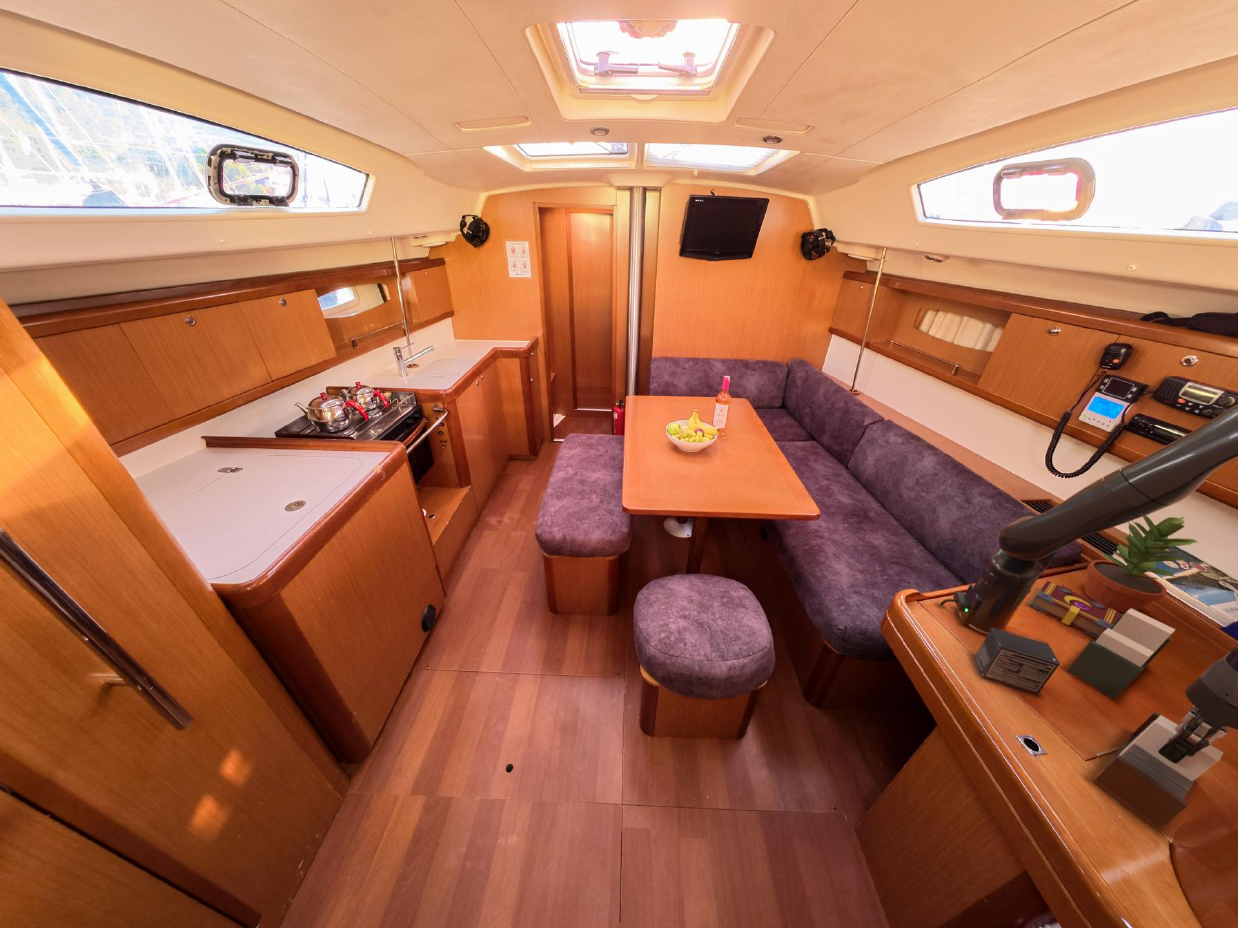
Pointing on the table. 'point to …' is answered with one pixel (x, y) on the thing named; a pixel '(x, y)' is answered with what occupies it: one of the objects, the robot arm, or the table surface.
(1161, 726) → the white book
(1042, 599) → the decorative book
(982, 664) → the small box
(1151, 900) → the table surface
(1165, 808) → the grey book rack
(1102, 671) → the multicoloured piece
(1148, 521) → the potted plant
